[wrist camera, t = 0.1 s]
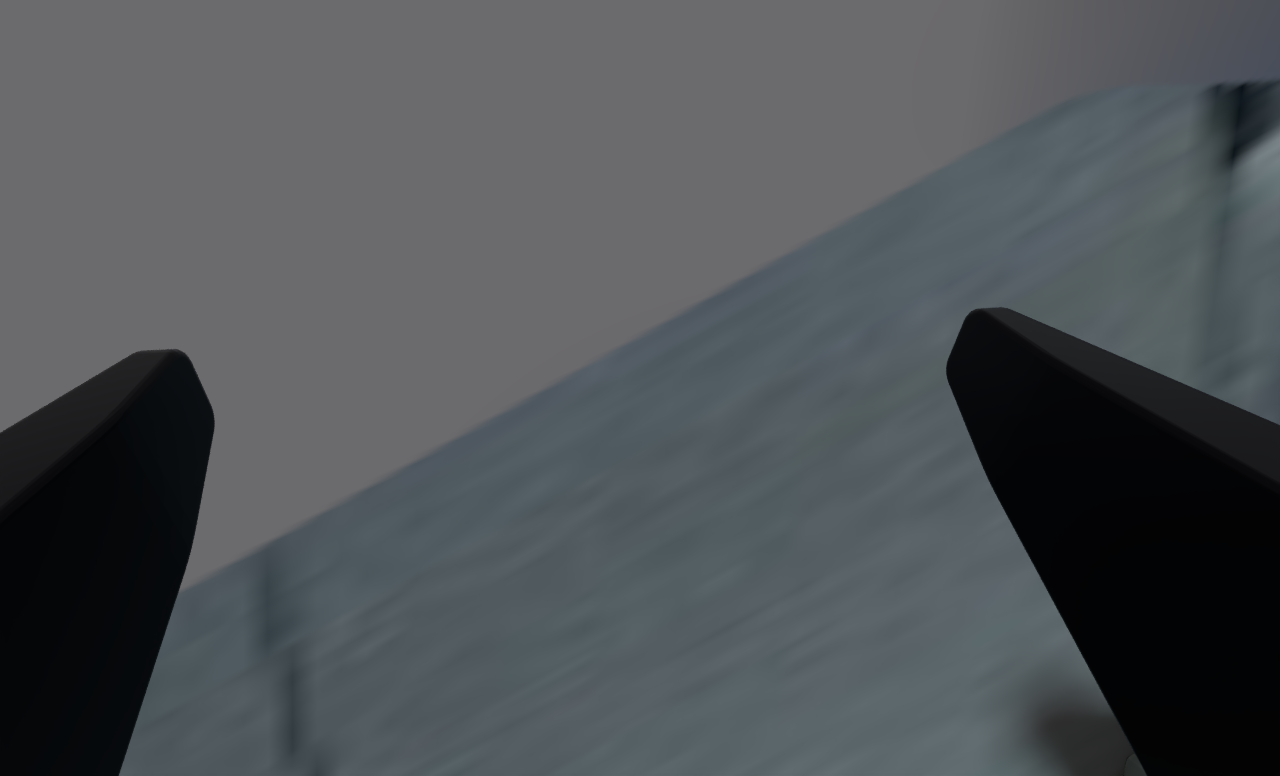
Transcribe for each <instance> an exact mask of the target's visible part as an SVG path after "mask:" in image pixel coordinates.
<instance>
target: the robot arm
mask: <svg viewBox="0 0 1280 776" xmlns="http://www.w3.org/2000/svg"><path fill="white" fill-rule="evenodd" d="M946 374H947V379H948V383H949V385H950V388H951V390H952V392H953V395H954V397H955V400H956V402H957V405H958V407H959V410H960V412H961V415H962V417H963V420H964V422H965V425H966V427H967V430H968V432H969V435H970V437H971V439H972V442H973V444H974V447H975V449H976V452H977V454H978V457H979V459H980V462H981V464H982V466H983V469H984V471H985V473H986V476H987V478H988V480H989V482H990V484H991V486H992V488H993V490H994V492H995V494H996V496H997V498H998V500H999V501H1000V503H1001V505H1002V507H1003V509H1004V511H1005V513H1006V515H1007V516H1008V518H1009V520H1010V522H1011V524H1012V526H1013V528H1014V529H1015V531H1016V533H1017V535H1018V537H1019V539H1020V541H1021V542H1022V544H1023V546H1024V548H1025V550H1026V552H1027V554H1028V556H1029V557H1030V559H1031V561H1032V563H1033V565H1034V567H1035V569H1036V570H1037V572H1038V574H1039V576H1040V578H1041V580H1042V582H1043V583H1044V585H1045V587H1046V589H1047V591H1048V593H1049V595H1050V596H1051V598H1052V600H1053V602H1054V604H1055V606H1056V608H1057V610H1058V611H1059V613H1060V615H1061V617H1062V619H1063V621H1064V623H1065V624H1066V626H1067V628H1068V630H1069V632H1070V634H1071V636H1072V637H1073V639H1074V641H1075V643H1076V645H1077V647H1078V649H1079V651H1080V652H1081V654H1082V656H1083V658H1084V660H1085V662H1086V664H1087V665H1088V667H1089V669H1090V671H1091V673H1092V675H1093V677H1094V678H1095V680H1096V682H1097V684H1098V686H1099V688H1100V690H1101V691H1102V693H1103V695H1104V697H1105V699H1106V701H1107V703H1108V705H1109V706H1110V708H1111V710H1112V712H1113V714H1114V716H1115V718H1116V719H1117V721H1118V723H1119V725H1120V727H1121V729H1122V731H1123V732H1124V734H1125V736H1126V738H1127V740H1128V742H1129V744H1130V746H1131V747H1132V749H1133V751H1134V753H1135V755H1136V757H1137V759H1138V760H1139V762H1140V764H1141V766H1142V768H1143V770H1144V772H1145V773H1146V775H1147V776H1280V425H1278V424H1276V423H1274V422H1271V421H1269V420H1267V419H1264V418H1262V417H1260V416H1257V415H1255V414H1253V413H1250V412H1248V411H1246V410H1243V409H1241V408H1239V407H1236V406H1234V405H1232V404H1229V403H1227V402H1225V401H1223V400H1220V399H1218V398H1216V397H1213V396H1211V395H1209V394H1206V393H1204V392H1202V391H1199V390H1197V389H1195V388H1192V387H1190V386H1188V385H1185V384H1183V383H1181V382H1178V381H1176V380H1174V379H1171V378H1169V377H1167V376H1164V375H1162V374H1160V373H1157V372H1155V371H1153V370H1150V369H1148V368H1146V367H1143V366H1141V365H1139V364H1136V363H1134V362H1132V361H1129V360H1127V359H1125V358H1123V357H1120V356H1118V355H1116V354H1113V353H1111V352H1109V351H1106V350H1104V349H1102V348H1099V347H1097V346H1095V345H1092V344H1090V343H1088V342H1085V341H1083V340H1081V339H1078V338H1076V337H1074V336H1071V335H1069V334H1067V333H1064V332H1062V331H1060V330H1057V329H1055V328H1053V327H1050V326H1048V325H1046V324H1043V323H1041V322H1039V321H1036V320H1034V319H1032V318H1029V317H1027V316H1025V315H1023V314H1020V313H1018V312H1016V311H1013V310H1011V309H1008V308H1002V307H999V308H981V309H975V310H973V311H971V312H970V313H969V314H968V315H967V316H966V318H965V320H964V322H963V325H962V327H961V329H960V332H959V334H958V337H957V339H956V341H955V344H954V346H953V349H952V351H951V353H950V356H949V358H948V361H947V367H946ZM214 422H215V421H214V413H213V409H212V406H211V404H210V402H209V399H208V397H207V395H206V393H205V391H204V388H203V386H202V384H201V382H200V380H199V377H198V375H197V373H196V371H195V369H194V367H193V364H192V362H191V360H190V359H189V357H188V356H187V355H186V354H185V353H184V352H182V351H180V350H177V349H167V350H147V351H139V352H136V353H133V354H131V355H130V356H128V357H127V358H125V359H123V360H121V361H120V362H118V363H116V364H115V365H113V366H111V367H110V368H108V369H106V370H105V371H103V372H101V373H100V374H98V375H96V376H95V377H93V378H91V379H89V380H88V381H86V382H85V383H83V384H81V385H80V386H78V387H76V388H74V389H73V390H71V391H69V392H68V393H66V394H64V395H63V396H61V397H59V398H58V399H56V400H55V401H53V402H51V403H49V404H48V405H46V406H44V407H43V408H41V409H39V410H38V411H36V412H34V413H33V414H31V415H29V416H28V417H26V418H24V419H22V420H21V421H19V422H18V423H16V424H14V425H13V426H11V427H9V428H7V429H6V430H4V431H3V432H1V433H0V776H119V773H120V770H121V767H122V764H123V761H124V758H125V755H126V752H127V749H128V746H129V743H130V739H131V736H132V733H133V730H134V727H135V724H136V721H137V718H138V715H139V712H140V709H141V706H142V702H143V699H144V696H145V693H146V690H147V687H148V684H149V681H150V678H151V675H152V672H153V669H154V665H155V662H156V659H157V656H158V653H159V650H160V647H161V644H162V641H163V638H164V635H165V632H166V629H167V625H168V622H169V619H170V616H171V613H172V610H173V607H174V604H175V601H176V598H177V595H178V592H179V588H180V585H181V582H182V579H183V576H184V573H185V570H186V566H187V563H188V559H189V555H190V552H191V548H192V544H193V539H194V535H195V530H196V525H197V520H198V514H199V509H200V503H201V498H202V492H203V487H204V481H205V476H206V471H207V465H208V460H209V455H210V449H211V444H212V439H213V433H214V424H215V423H214Z"/></svg>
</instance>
